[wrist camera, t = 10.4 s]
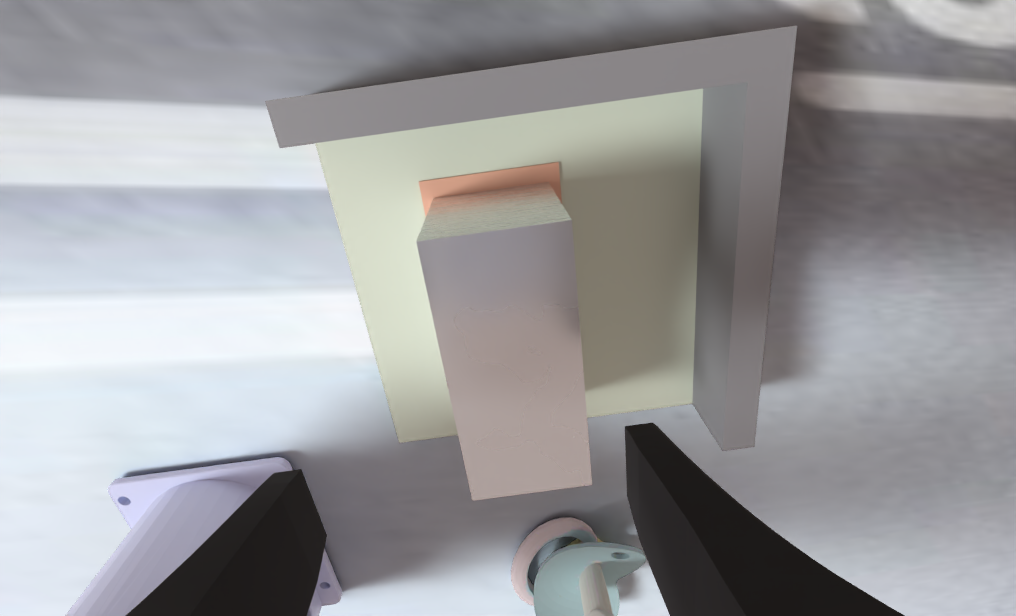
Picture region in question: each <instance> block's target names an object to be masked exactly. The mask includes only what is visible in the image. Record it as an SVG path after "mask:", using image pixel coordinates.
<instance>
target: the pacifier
mask: <svg viewBox="0 0 1016 616" xmlns="http://www.w3.org/2000/svg"><path fill="white" fill-rule="evenodd" d="M561 537H574V538H577V539H576V540H574V541H572V542H571V543H570V544H569V545H567V546H566V547H563V548H561V549H559V550H557V551H555V552H554V553H552V554H551V555H550V556H549V557H547V558H546V560H545V561H544V562H543V563H542V565H541V567H540V568H539V571H538V573H537V576H536V579H535V583H534V585H533V584H532V583H531V582H530V580H529V579H528V575H527V573H528V569H529V565H530V563H531V561H532V559H533V557H534V556H535V555H536V554H537V552H538V551H539V550H540V549H541V548H542V547H543V546H545V545H546V544H547V543H549V542H551V541H553V540H554V539H557V538H561ZM617 552H620V553H625V554H614V553H617ZM645 560H646V558H645V556H644V553H643V551H642V550H640V549H638V548H636V547H632V546H627V545H623V544H618V543H607V542H602V541H601V540H600V539H599V538H597V536H596V535H595V533H594V532H593V530H592V528H591V527H590V526H588V525H587V524H586V523H584V522H583V521H581V520H578V519H575V518H558V519H554V520H550V521H548V522H546V523H544V524H542V525H540V526H538V527H537V528H536V529H535V530H533V531H532V532H531V533H530V534H529V535H528V536H527V537H526V538H525V539H524V541H523V542H522V543H521V545H520V546H519V548H518V550H517V552H516V554H515V556H514V559H513V563H512V568H511V581H512V584H513V587H514V590H515V592H516V593H517V595H518V596H519V597H520V598H521V600H523V601H525V602H526V603H528V604H529V605H533V606H534V608H535V613H536V616H617V615H618V610H619V592H618V589H617V586H616V582H617V580H618V579H619V578H622V577H624V576H626V575H628V574H630V573H632V572H633V571H635V570H637V569H638V568H639V567H641V566H642V565H643V564H644V563H645Z"/></svg>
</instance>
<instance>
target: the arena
mask: <svg viewBox="0 0 1016 616" xmlns="http://www.w3.org/2000/svg"><path fill="white" fill-rule="evenodd" d="M796 33H797V25H796V26H789V27H782V28H775V29H768V30H761V31H754V32H747V33H740V34H733V35H726V36H719V37H712V38H705V39H698V40H691V41H684V42H677V43H670V44H663V45H656V46H649V47H642V48H635V49H628V50H620V51H613V52H606V53H599V54H592V55H585V56H578V57H571V58H564V59H557V60H550V61H543V62H536V63H529V64H522V65H515V66H508V67H501V68H494V69H487V70H480V71H473V72H466V73H459V74H452V75H445V76H438V77H431V78H424V79H417V80H410V81H403V82H396V83H389V84H382V85H375V86H368V87H361V88H354V89H347V90H339V91H332V92H325V93H318V94H311V95H304V96H297V97H290V98H283V99H276V100H269V101H265V102H266V105H267V109H268V112H269V115H270V118H271V122H272V125H273V128H274V131H275V134H276V138H277V141H278V144H279V147H280V148H285V147H292V146H299V145H306V144H313V143H315V144H316V148H317V151H318V155H319V158H320V162H321V165H322V169H323V173H324V176H325V180H326V183H327V187H328V190H329V194H330V198H331V201H332V205H333V208H334V212H335V215H336V219H337V223H338V226H339V230H340V233H341V237H342V240H343V244H344V248H345V251H346V255H347V258H348V262H349V265H350V269H351V273H352V276H353V280H354V283H355V287H356V290H357V294H358V298H359V301H360V305H361V308H362V312H363V315H364V319H365V323H366V326H367V330H368V333H369V337H370V340H371V344H372V348H373V351H374V355H375V358H376V362H377V365H378V369H379V373H380V376H381V380H382V383H383V387H384V390H385V394H386V398H387V401H388V405H389V408H390V412H391V416H392V419H393V423H394V426H395V430H396V433H397V437H398V441H399V443H403V442H410V441H418V440H425V439H433V438H440V437H448V436H455V435H458V433H457V428H456V423H455V419H454V414H453V409H452V405H451V400H450V396H449V391H448V386H447V382H446V377H445V373H444V368H443V363H442V359H441V354H440V349H439V345H438V340H437V336H436V331H435V326H434V322H433V317H432V312H431V308H430V303H429V299H428V294H427V289H426V285H425V280H424V275H423V271H422V266H421V262H420V257H419V252H418V248H417V243H416V241H417V238H418V236H419V233H420V231H421V228H422V226H423V223H424V221H425V218H426V216H427V213H428V211H429V208H430V205H431V203H432V200H433V198H437V197H445V196H452V195H459V194H466V193H473V192H480V191H487V190H494V189H501V188H508V187H516V186H523V185H530V184H537V183H544V182H549V184H550V185H551V187H552V189H553V190H554V192H555V194H556V195H557V197H558V198H559V200H560V202H561V203H562V205H563V207H564V208H565V210H566V211H567V213H568V215H569V216H570V218H571V219H572V229H573V242H574V255H575V268H576V281H577V294H578V306H579V319H580V332H581V345H582V358H583V371H584V384H585V397H586V410H587V418H590V417H597V416H605V415H612V414H620V413H627V412H635V411H642V410H650V409H657V408H664V407H672V406H679V405H687V404H693V406H694V407H695V409H696V410H697V412H698V413H699V415H700V417H701V418H702V420H703V421H704V423H705V424H706V426H707V427H708V429H709V431H710V432H711V434H712V435H713V437H714V438H715V440H716V442H717V443H718V445H719V446H720V448H721V449H722V451H726V450H734V449H741V448H749V447H754V444H755V434H756V424H757V414H758V405H759V395H760V385H761V375H762V365H763V356H764V346H765V336H766V326H767V317H768V307H769V297H770V287H771V277H772V268H773V258H774V248H775V238H776V229H777V219H778V209H779V199H780V190H781V180H782V170H783V160H784V150H785V141H786V131H787V121H788V111H789V102H790V92H791V82H792V72H793V62H794V53H795V43H796Z"/></svg>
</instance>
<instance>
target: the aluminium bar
mask: <svg viewBox="0 0 1016 616" xmlns="http://www.w3.org/2000/svg"><path fill="white" fill-rule="evenodd" d="M416 243H417V248H418V252H419V257H420V262H421V266H422V271H423V275H424V280H425V285H426V289H427V294H428V299H429V303H430V308H431V312H432V317H433V322H434V326H435V331H436V336H437V340H438V345H439V349H440V354H441V359H442V363H443V368H444V373H445V377H446V382H447V386H448V391H449V396H450V400H451V405H452V409H453V414H454V419H455V423H456V428H457V433H458V437H459V442H460V446H461V451H462V456H463V460H464V465H465V470H466V474H467V479H468V483H469V488H470V493H471V497H472V501H475V500H483V499H490V498H498V497H505V496H513V495H520V494H528V493H535V492H543V491H550V490H558V489H565V488H573V487H580V486H588V485H592V475H591V462H590V449H589V436H588V423H587V410H586V397H585V384H584V371H583V358H582V345H581V332H580V319H579V306H578V294H577V281H576V268H575V255H574V242H573V229H572V219H571V218H570V216H569V215H568V213H567V211H566V210H565V208H564V207H563V205H562V203H561V202H560V200H559V198H558V197H557V195H556V194H555V192H554V190H553V189H552V187H551V185H550V184H549V182H544V183H537V184H530V185H523V186H516V187H508V188H501V189H494V190H487V191H480V192H473V193H466V194H459V195H452V196H445V197H437V198H433V200H432V203H431V205H430V208H429V211H428V213H427V216H426V218H425V221H424V223H423V226H422V228H421V231H420V233H419V236H418V238H417V241H416Z"/></svg>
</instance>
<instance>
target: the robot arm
mask: <svg viewBox="0 0 1016 616" xmlns="http://www.w3.org/2000/svg"><path fill="white" fill-rule="evenodd" d="M625 443H626V474H627V497H628V501H629V504H630V508H631V511H632V515H633V519H634V522H635V526H636V529H637V532H638V536H639V539H640V542H641V545H642V547H643V550H644V552H645V555H646V557H647V560H648V562H649V565H650V567H651V570H652V572H653V575H654V577H655V580H656V582H657V585H658V587H659V589H660V592H661V594H662V597H663V599H664V602H665V604H666V607H667V609H668V612H669V614H670V616H904V615H903V614H901V613H899V612H897V611H896V610H894V609H892V608H890V607H889V606H887V605H885V604H884V603H882V602H880V601H879V600H877V599H875V598H874V597H872V596H870V595H869V594H867V593H866V592H864V591H862V590H861V589H859V588H857V587H856V586H854V585H852V584H851V583H849V582H847V581H846V580H844V579H843V578H841V577H839V576H838V575H836V574H835V573H833V572H831V571H830V570H828V569H827V568H825V567H824V566H822V565H821V564H819V563H818V562H816V561H815V560H813V559H812V558H810V557H809V556H808V555H806V554H805V553H803V552H802V551H801V550H799V549H798V548H796V547H795V546H794V545H792V544H791V543H789V542H788V541H787V540H785V539H784V538H783V537H781V536H780V535H779V534H777V533H776V532H775V531H773V530H772V529H771V528H769V527H768V526H767V525H765V524H764V523H763V522H762V521H760V520H759V519H758V518H757V517H755V516H754V515H753V514H752V513H750V512H749V511H748V510H747V509H746V508H744V507H743V506H742V505H741V504H739V503H738V502H737V501H736V500H735V499H734V498H732V497H731V496H730V495H729V494H728V493H727V492H725V491H724V490H723V489H722V488H721V487H720V486H719V485H718V484H716V483H715V482H714V481H713V480H712V479H711V478H710V477H709V476H708V475H706V474H705V473H704V472H703V471H702V470H701V469H700V468H699V467H698V466H697V465H696V464H695V463H694V462H693V461H691V460H690V459H689V458H688V457H687V456H686V455H685V454H684V453H683V452H682V451H681V450H680V449H679V448H678V447H677V446H676V445H675V444H674V443H673V442H672V441H671V440H670V439H669V438H668V437H667V436H666V435H665V434H664V433H663V432H662V431H661V430H660V429H659V428H658V427H657V426H656V425H655V424H654V423H647V424H639V425H632V426H625ZM107 490H108V493H109V495H110V497H111V498H112V500H113V501H114V503H115V504H116V506H117V508H118V509H119V511H120V512H121V514H122V516H123V517H124V519H125V520H126V522H127V524H128V525H129V527H130V528H131V531H130V532H129V533H128V535H127V536H126V537H125V538H124V540H123V541H122V542H121V544H120V545H119V546H118V547H117V549H116V550H115V551H114V553H113V554H112V555H111V557H110V558H109V559H108V560H107V562H106V563H105V564H104V566H103V567H102V568H101V570H100V571H99V572H98V573H97V575H96V576H95V577H94V579H93V580H92V581H91V583H90V584H89V585H88V586H87V588H86V589H85V590H84V592H83V593H82V594H81V595H80V597H79V598H78V599H77V601H76V602H75V603H74V605H73V606H72V607H71V608H70V610H69V611H68V612H67V614H66V615H65V616H319V613H320V610H321V606H324V605H332V604H336V603H338V602H339V601H340V599H341V596H342V590H341V588H340V585H339V583H338V580H337V578H336V575H335V573H334V570H333V568H332V565H331V563H330V560H329V558H328V556H327V553H326V551H325V548H324V547H325V542H326V536H327V535H326V532H325V530H324V527H323V524H322V522H321V519H320V517H319V514H318V512H317V509H316V507H315V504H314V501H313V499H312V496H311V494H310V491H309V489H308V486H307V483H306V481H305V478H304V476H303V473H302V471H301V469H299V470H293V469H292V467H291V464H290V463H289V462H288V461H287V460H286V459H284V458H281V457H274V458H267V459H259V460H252V461H244V462H237V463H229V464H222V465H214V466H207V467H199V468H192V469H184V470H177V471H169V472H162V473H154V474H147V475H140V476H132V477H125V478H118V479H115V480H114V481H113V482H112V483H111V484H110V485H109V486H108V489H107Z"/></svg>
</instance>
